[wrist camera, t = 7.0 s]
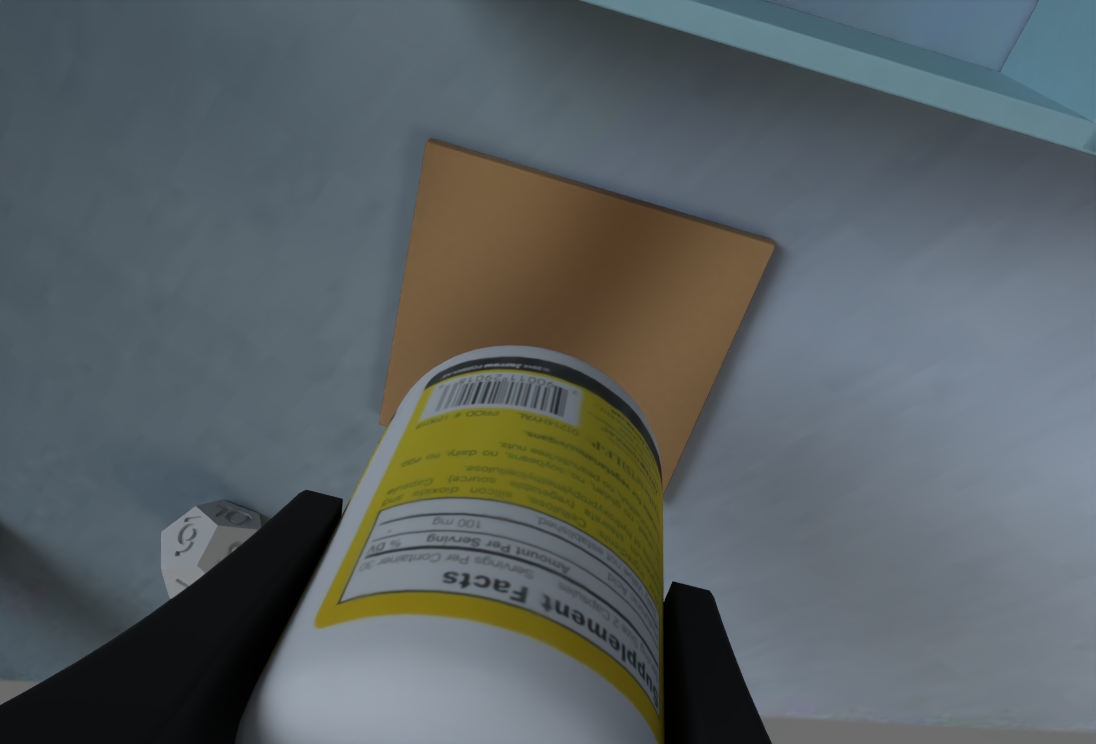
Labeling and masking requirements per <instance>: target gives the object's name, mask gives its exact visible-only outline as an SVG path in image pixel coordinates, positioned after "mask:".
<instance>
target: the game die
mask: <svg viewBox="0 0 1096 744" xmlns="http://www.w3.org/2000/svg"><path fill="white" fill-rule="evenodd" d="M260 528H261V521H260V516H259V513H256V512H253V511H251V510H248V509H246V508H243V507H240V506H238V505H235V504H232V503H230V502H227V501H225V500H219V501H215V502H210V503H206V504H202V505H198V506H195V507H194V508H192V509H191V510H190V511H188V512H187V513H186V514H184V515H183V516H182V517H180V518H179V519H178V520H177V521H175V522H174V523H173V524H171V525H170V526H169V527H167V528H166V529H165V530H163V531H162V532H161V570H162V574H163V577H164V581H165V584H166V588H167V591H168V595H169V598H171V599H172V598H173V597H175V596H176V595H177V594H179V593H180V592H181V591H183V590H184V589H186V588H187V587H188V586H190V585H191V584H192V583H194V582H195V581H196V580H198V579H199V578H200V577H202V576H203V575H204V574H205V573H207V572H208V571H209V570H210V569H212V568H213V567H214V566H215V565H217V564H218V563H219V562H220V561H222V560H223V559H224V558H225V557H226V556H228V555H229V554H230V553H231V552H233V551H234V550H235V549H236V548H238V547H239V546H240V545H241V544H242V543H244V542H245V541H246V540H247V539H248V538H250V537H251V536H252V535H253V534H254V533H255V532H257V531H258V530H259V529H260Z"/></svg>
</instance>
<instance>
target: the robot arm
mask: <svg viewBox="0 0 1096 744" xmlns="http://www.w3.org/2000/svg"><path fill="white" fill-rule="evenodd" d="M342 503H343V499H341V498H337V497H333V496H329V495H325V494H321V493H317V492H313V491H309V490H305V491H303V492H301V493H299V494H298V495H297V496H296V497H295V498H294V499H293V500H291V501H290V502H289V503H288V504H287V505H286V506H285V507H284V508H283V509H282V510H280V511H279V512H278V513H277V514H276V515H275V516H274V517H273V518H272V519H270V520H269V521H268V522H267V523H266V524H265V525H264V526H262V527H261V528H260V529H259V530H258V531H257V532H255V533H254V534H253V535H252V536H251V537H250V538H248V539H247V540H246V541H245V542H244V543H242V544H241V545H240V546H239V547H238V548H236V549H235V550H234V551H233V552H231V553H230V554H229V555H228V556H226V557H225V558H224V559H223V560H222V561H220V562H219V563H218V564H217V565H215V566H214V567H213V568H212V569H210V570H209V571H208V572H207V573H205V574H204V575H203V576H202V577H200V578H199V579H198V580H196V581H195V582H194V583H192V584H191V585H190V586H188V587H187V588H186V589H184V590H183V591H181V592H180V593H179V594H177V595H176V596H175V597H173V598H172V599H170V600H169V601H168V602H166V603H165V604H164V605H162V606H161V607H159V608H158V609H157V610H155V611H154V612H152V613H151V614H150V615H148V616H147V617H145V618H144V619H143V620H141V621H140V622H138V623H137V624H135V625H134V626H132V627H131V628H129V629H128V630H126V631H125V632H123V633H122V634H120V635H119V636H117V637H116V638H114V639H113V640H111V641H109V642H108V643H106V644H105V645H103V646H101V647H100V648H98V649H97V650H95V651H93V652H92V653H90V654H89V655H87V656H85V657H84V658H82V659H81V660H79V661H77V662H76V663H74V664H72V665H71V666H69V667H67V668H65V669H64V670H62V671H60V672H58V673H57V674H55V675H53V676H51V677H50V678H48V679H46V680H44V681H43V682H41V683H39V684H37V685H36V686H34V687H32V688H31V689H29V690H27V691H25V692H23V693H22V694H20V695H18V696H16V697H14V698H12V699H11V700H9V701H7V702H5V703H3V704H1V705H0V744H235V739H236V735H237V731H238V727H239V723H240V720H241V718H242V715H243V713H244V710H245V708H246V706H247V703H248V701H249V698H250V696H251V694H252V691H253V689H254V687H255V685H256V683H257V680H258V678H259V676H260V674H261V672H262V670H263V668H264V666H265V665H266V663H267V661H268V659H269V657H270V655H271V653H272V651H273V649H274V647H275V645H276V643H277V641H278V639H279V638H280V636H281V634H282V632H283V630H284V628H285V626H286V624H287V622H288V620H289V618H290V617H291V615H292V613H293V611H294V609H295V607H296V605H297V603H298V601H299V599H300V597H301V595H302V593H303V591H304V589H305V587H306V586H307V584H308V582H309V580H310V578H311V576H312V574H313V572H314V570H315V568H316V566H317V564H318V562H319V560H320V558H321V556H322V554H323V552H324V550H325V548H326V545H327V543H328V542H329V540H330V538H331V536H332V534H333V532H334V530H335V528H336V526H337V524H338V522H339V520H340V518H341V516H342ZM663 605H664V726H665V744H772V743H771V741H770V738H769V736H768V734H767V732H766V730H765V727H764V725H763V723H762V721H761V718H760V716H759V714H758V711H757V709H756V707H755V704H754V702H753V700H752V697H751V695H750V693H749V691H748V688H747V686H746V683H745V681H744V678H743V676H742V673H741V671H740V668H739V666H738V663H737V660H736V658H735V655H734V653H733V650H732V647H731V645H730V642H729V639H728V637H727V634H726V631H725V628H724V625H723V622H722V620H721V617H720V614H719V611H718V608H717V605H716V602H715V599H714V597H713V595H712V593H711V592H710V591H709V590H705V589H701V588H697V587H693V586H689V585H685V584H681V583H677V582H672V584H671V586H670V589H669V591H668V594H667V596H666V598H665V601H664V603H663Z"/></svg>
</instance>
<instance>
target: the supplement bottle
mask: <svg viewBox="0 0 1096 744" xmlns="http://www.w3.org/2000/svg"><path fill="white" fill-rule="evenodd" d="M662 488H663V487H662V469H661V459H660V453H659V448H658V444H657V441H656V438H655V435H654V433H653V431H652V428H651V426H650V424H649V422H648V420H647V419H646V417H645V415H644V413H643V412H642V410H641V409H640V408H639V406H638V405H637V404H636V402H635V401H634V400H633V398H632V397H631V396H630V395H629V394H628V393H627V392H626V391H625V390H624V389H623V388H622V387H620V386H619V385H618V384H617V383H616V382H615V381H613V380H612V379H611V378H610V377H608V376H607V375H606V374H604V373H603V372H601V371H600V370H598V369H596V368H595V367H593V366H591V365H590V364H588V363H586V362H584V361H581V360H579V359H577V358H575V357H572V356H570V355H566V354H563V353H560V352H557V351H553V350H549V349H545V348H540V347H532V346H513V345H505V346H492V347H486V348H480V349H476V350H472V351H469V352H466V353H463V354H460V355H458V356H455V357H453V358H451V359H449V360H447V361H445V362H443V363H442V364H440V365H438V366H436V367H435V368H433V369H432V370H431V371H429V372H428V373H427V374H425V375H424V376H423V377H422V378H421V379H420V380H419V381H418V382H417V383H416V384H415V385H414V386H413V387H412V388H411V389H410V391H409V392H408V393H407V395H406V396H405V397H404V399H403V401H402V402H401V404H400V405H399V407H398V409H397V410H396V412H395V414H394V415H393V417H392V418H391V420H390V422H389V424H388V427H387V428H386V430H385V432H384V434H383V436H382V438H381V440H380V442H379V444H378V446H377V448H376V449H375V451H374V453H373V455H372V457H371V459H370V461H369V463H368V465H367V467H366V469H365V471H364V473H363V475H362V477H361V479H360V481H359V483H358V485H357V487H356V489H355V491H354V493H353V495H352V497H351V499H350V501H349V503H348V505H347V507H346V508H345V510H344V512H343V514H342V516H341V518H340V520H339V522H338V524H337V526H336V528H335V530H334V532H333V534H332V536H331V538H330V540H329V542H328V543H327V545H326V548H325V550H324V552H323V554H322V556H321V558H320V560H319V562H318V564H317V566H316V568H315V570H314V572H313V574H312V576H311V578H310V580H309V582H308V584H307V586H306V587H305V589H304V591H303V593H302V595H301V597H300V599H299V601H298V603H297V605H296V607H295V609H294V611H293V613H292V615H291V617H290V618H289V620H288V622H287V624H286V626H285V628H284V630H283V632H282V634H281V636H280V638H279V639H278V641H277V643H276V645H275V647H274V649H273V651H272V653H271V655H270V657H269V659H268V661H267V663H266V665H265V666H264V668H263V670H262V672H261V674H260V676H259V678H258V680H257V683H256V685H255V687H254V689H253V691H252V694H251V696H250V698H249V701H248V703H247V706H246V708H245V710H244V713H243V715H242V718H241V720H240V723H239V727H238V731H237V735H236V739H235V744H665V726H664V605H663V493H662Z"/></svg>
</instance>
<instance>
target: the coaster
mask: <svg viewBox="0 0 1096 744" xmlns="http://www.w3.org/2000/svg"><path fill="white" fill-rule="evenodd" d="M774 248H775V242H774V240H772V239H769V238H766V237H762V236H759V235H756V234H752V233H749V232H745V231H742V230H739V229H735V228H732V227H729V226H725V225H722V224H719V223H715V222H712V221H708V220H705V219H702V218H698V217H695V216H692V215H688V214H685V213H681V212H678V211H675V210H671V209H668V208H665V207H661V206H658V205H655V204H651V203H648V202H644V201H641V200H638V199H634V198H631V197H628V196H624V195H621V194H617V193H614V192H611V191H607V190H604V189H601V188H597V187H594V186H591V185H587V184H584V183H580V182H577V181H574V180H570V179H567V178H564V177H560V176H557V175H553V174H550V173H547V172H543V171H540V170H537V169H533V168H530V167H527V166H523V165H520V164H516V163H513V162H510V161H506V160H503V159H500V158H496V157H493V156H490V155H486V154H483V153H479V152H476V151H473V150H469V149H466V148H463V147H459V146H456V145H452V144H449V143H446V142H442V141H439V140H436V139H432V138H430V139H429V140H428V141H427V142H426V146H425V152H424V158H423V164H422V170H421V176H420V182H419V188H418V194H417V200H416V206H415V212H414V218H413V224H412V230H411V236H410V242H409V248H408V254H407V260H406V266H405V272H404V278H403V284H402V290H401V296H400V302H399V308H398V314H397V320H396V326H395V332H394V338H393V344H392V350H391V356H390V362H389V368H388V374H387V380H386V386H385V392H384V398H383V404H382V410H381V416H380V422H379V424H380V425H383V426H387V427H388V424H389V422H390V420H391V418H392V417H393V415H394V414H395V412H396V410H397V409H398V407H399V405H400V404H401V402H402V401H403V399H404V397H405V396H406V395H407V393H408V392H409V391H410V389H411V388H412V387H413V386H414V385H415V384H416V383H417V382H418V381H419V380H420V379H421V378H422V377H423V376H424V375H425V374H427V373H428V372H429V371H431V370H432V369H433V368H435V367H436V366H438V365H440V364H442V363H443V362H445V361H447V360H449V359H451V358H453V357H455V356H458V355H460V354H463V353H466V352H469V351H472V350H476V349H480V348H486V347H492V346H505V345H513V346H532V347H540V348H545V349H549V350H553V351H557V352H560V353H563V354H566V355H570V356H572V357H575V358H577V359H579V360H581V361H584V362H586V363H588V364H590V365H591V366H593V367H595V368H596V369H598V370H600V371H601V372H603V373H604V374H606V375H607V376H608V377H610V378H611V379H612V380H613V381H615V382H616V383H617V384H618V385H619V386H620V387H622V388H623V389H624V390H625V391H626V392H627V393H628V394H629V395H630V396H631V397H632V398H633V400H634V401H635V402H636V404H637V405H638V406H639V408H640V409H641V410H642V412H643V413H644V415H645V417H646V419H647V420H648V422H649V424H650V426H651V428H652V431H653V433H654V435H655V438H656V441H657V444H658V448H659V453H660V459H661V469H662V487H663V488H662V493H663V495H664V492H665V490H666V488H667V486H668V484H669V481H670V479H671V477H672V475H673V472H674V470H675V468H676V466H677V464H678V461H679V459H680V457H681V455H682V453H683V450H684V448H685V446H686V444H687V441H688V439H689V437H690V435H691V433H692V430H693V428H694V426H695V424H696V421H697V419H698V417H699V415H700V413H701V410H702V408H703V406H704V404H705V402H706V399H707V397H708V395H709V393H710V390H711V388H712V386H713V384H714V382H715V379H716V377H717V375H718V373H719V370H720V368H721V366H722V364H723V362H724V359H725V357H726V355H727V353H728V351H729V348H730V346H731V344H732V342H733V339H734V337H735V335H736V333H737V331H738V328H739V326H740V324H741V322H742V319H743V317H744V315H745V313H746V311H747V308H748V306H749V304H750V302H751V300H752V297H753V295H754V293H755V291H756V288H757V286H758V284H759V282H760V280H761V277H762V275H763V273H764V271H765V268H766V266H767V264H768V262H769V260H770V257H771V255H772V253H773V251H774Z"/></svg>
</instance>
